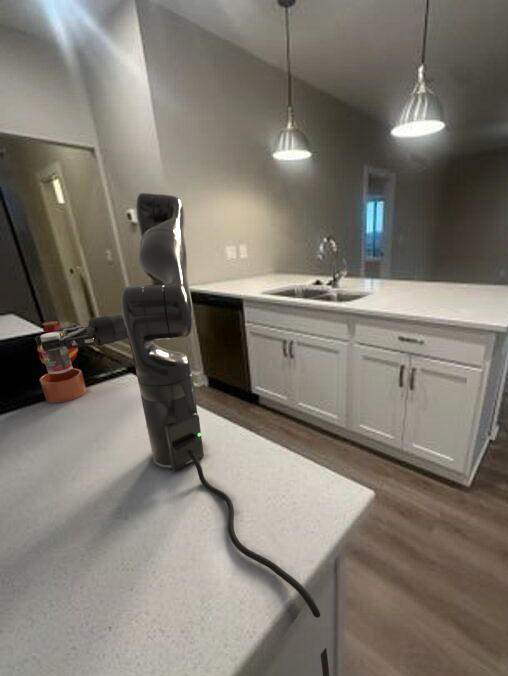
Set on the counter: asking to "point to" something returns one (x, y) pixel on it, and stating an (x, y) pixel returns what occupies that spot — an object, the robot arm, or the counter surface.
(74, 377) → the pot
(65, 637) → the counter surface
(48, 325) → the potion bottle
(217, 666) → the counter surface
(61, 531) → the counter surface
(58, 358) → the pill bottle
